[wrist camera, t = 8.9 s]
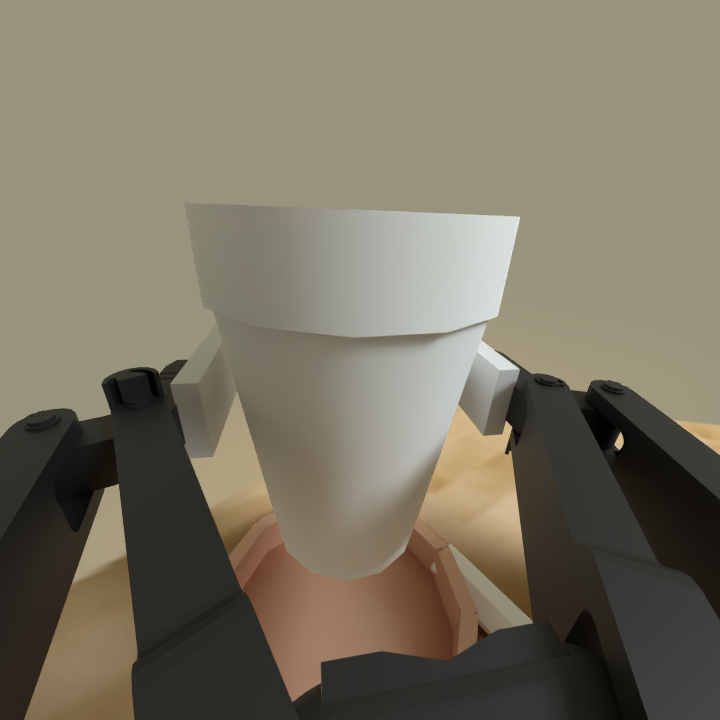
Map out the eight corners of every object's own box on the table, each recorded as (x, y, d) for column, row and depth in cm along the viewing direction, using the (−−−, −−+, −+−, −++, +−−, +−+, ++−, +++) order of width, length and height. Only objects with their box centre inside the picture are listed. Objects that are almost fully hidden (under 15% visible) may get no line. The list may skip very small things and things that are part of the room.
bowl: (162, 890, 12) (140, 869, 10) (236, 530, 25) (230, 501, 24) (523, 791, 14) (543, 764, 13) (417, 510, 27) (422, 482, 26)
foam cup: (404, 437, 20) (431, 213, 15) (492, 588, 12) (620, 220, 7) (247, 458, 18) (212, 204, 13) (229, 660, 10) (109, 199, 5)
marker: (766, 942, 12) (431, 575, 23) (780, 876, 13) (451, 552, 23) (817, 977, 10) (429, 563, 21) (829, 898, 11) (450, 539, 22)
